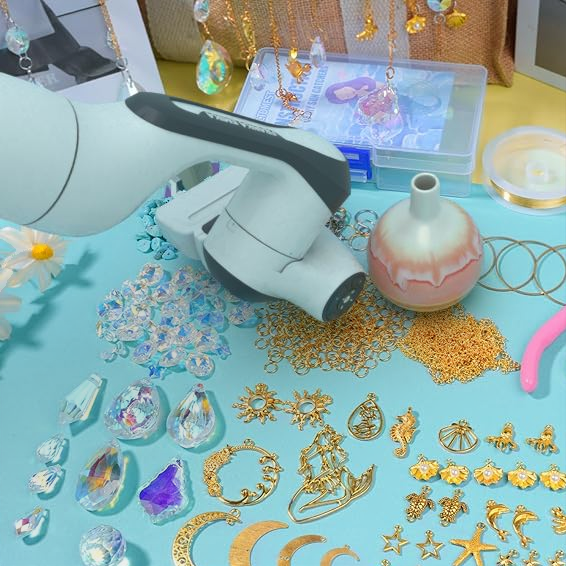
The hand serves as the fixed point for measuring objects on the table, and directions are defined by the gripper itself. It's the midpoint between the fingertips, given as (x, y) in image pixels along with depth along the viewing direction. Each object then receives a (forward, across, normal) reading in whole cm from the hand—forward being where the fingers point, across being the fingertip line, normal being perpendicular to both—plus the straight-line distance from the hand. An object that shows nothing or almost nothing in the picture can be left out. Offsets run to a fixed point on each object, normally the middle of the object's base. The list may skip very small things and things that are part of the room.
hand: (202, 161), depth 105 cm
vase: (-29, -12, +8) cm, 33 cm away
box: (+5, 0, +8) cm, 9 cm away
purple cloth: (+6, 0, +8) cm, 10 cm away
